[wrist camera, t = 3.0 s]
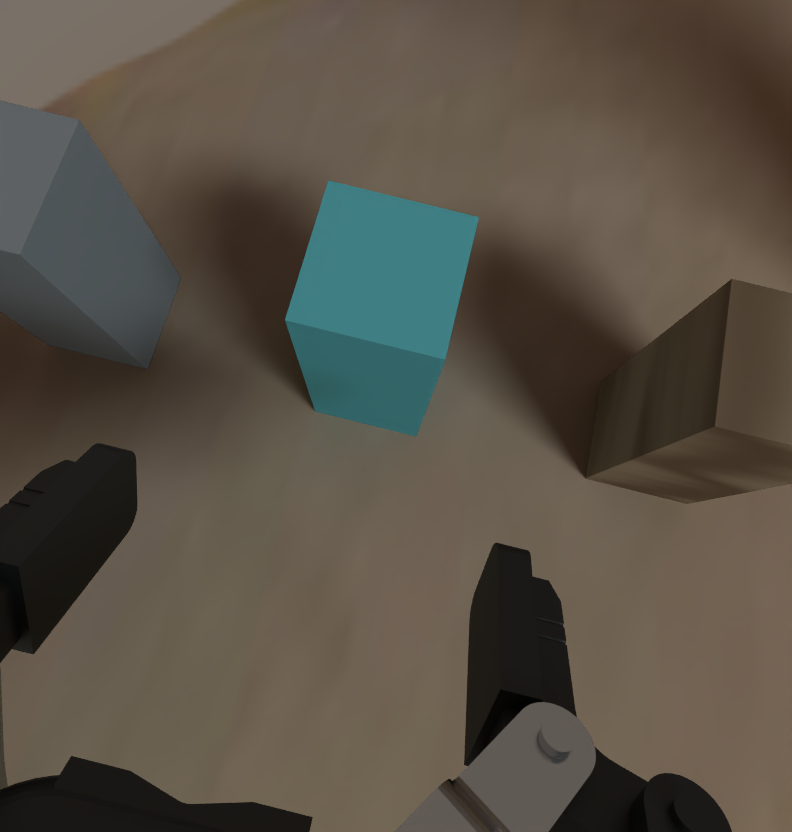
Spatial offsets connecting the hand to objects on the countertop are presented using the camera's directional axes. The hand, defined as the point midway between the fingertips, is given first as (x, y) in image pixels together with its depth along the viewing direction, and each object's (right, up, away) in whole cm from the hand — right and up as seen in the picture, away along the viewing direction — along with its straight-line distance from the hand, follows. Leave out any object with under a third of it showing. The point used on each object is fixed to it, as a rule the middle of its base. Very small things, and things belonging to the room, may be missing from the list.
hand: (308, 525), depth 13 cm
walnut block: (+13, +1, +13) cm, 18 cm away
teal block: (+1, +4, +13) cm, 14 cm away
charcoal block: (-11, +7, +14) cm, 19 cm away
